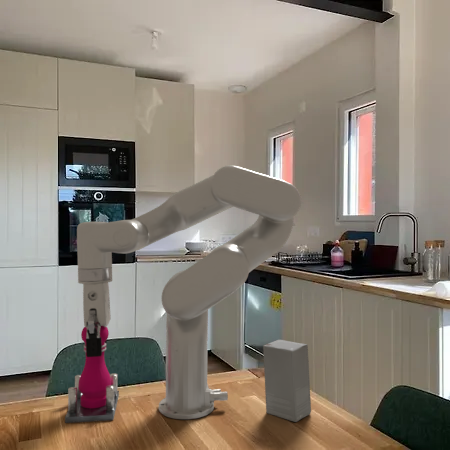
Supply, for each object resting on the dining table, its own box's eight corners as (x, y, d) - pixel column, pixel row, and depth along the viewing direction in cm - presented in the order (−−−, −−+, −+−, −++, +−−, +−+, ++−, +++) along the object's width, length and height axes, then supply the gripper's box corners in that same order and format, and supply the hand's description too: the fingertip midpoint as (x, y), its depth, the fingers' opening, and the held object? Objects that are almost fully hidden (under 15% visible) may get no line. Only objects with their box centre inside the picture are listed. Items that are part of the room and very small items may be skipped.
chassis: (118, 395, 111) (118, 370, 111) (113, 420, 97) (113, 391, 97) (76, 397, 109) (76, 372, 109) (65, 422, 96) (65, 393, 96)
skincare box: (311, 414, 100) (312, 343, 100) (293, 425, 95) (293, 350, 95) (280, 404, 106) (281, 337, 106) (261, 413, 101) (262, 342, 101)
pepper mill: (102, 411, 99) (102, 320, 99) (72, 408, 100) (72, 318, 100) (116, 398, 106) (116, 313, 106) (88, 395, 107) (88, 312, 107)
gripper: (108, 279, 95) (110, 360, 95) (115, 271, 112) (117, 339, 112) (71, 280, 94) (73, 362, 94) (84, 272, 111) (86, 341, 111)
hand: (97, 350), depth 103 cm, fingers open, 9 cm apart
